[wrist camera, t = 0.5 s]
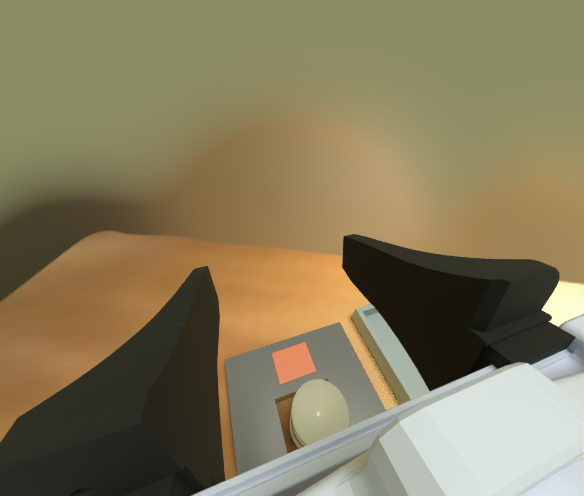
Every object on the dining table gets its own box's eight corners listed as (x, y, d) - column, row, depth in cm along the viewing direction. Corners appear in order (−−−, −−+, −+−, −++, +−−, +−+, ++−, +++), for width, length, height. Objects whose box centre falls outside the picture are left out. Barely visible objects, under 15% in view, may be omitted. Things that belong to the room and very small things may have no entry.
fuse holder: (430, 510, 17) (440, 513, 16) (257, 624, 14) (255, 637, 13) (337, 327, 28) (339, 321, 27) (226, 364, 24) (224, 359, 23)
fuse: (340, 443, 20) (360, 434, 15) (298, 464, 19) (303, 461, 14) (321, 392, 23) (332, 371, 18) (283, 408, 22) (284, 390, 17)
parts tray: (574, 429, 21) (600, 425, 20) (459, 507, 17) (478, 511, 16) (438, 290, 33) (447, 280, 31) (351, 318, 29) (355, 308, 27)
